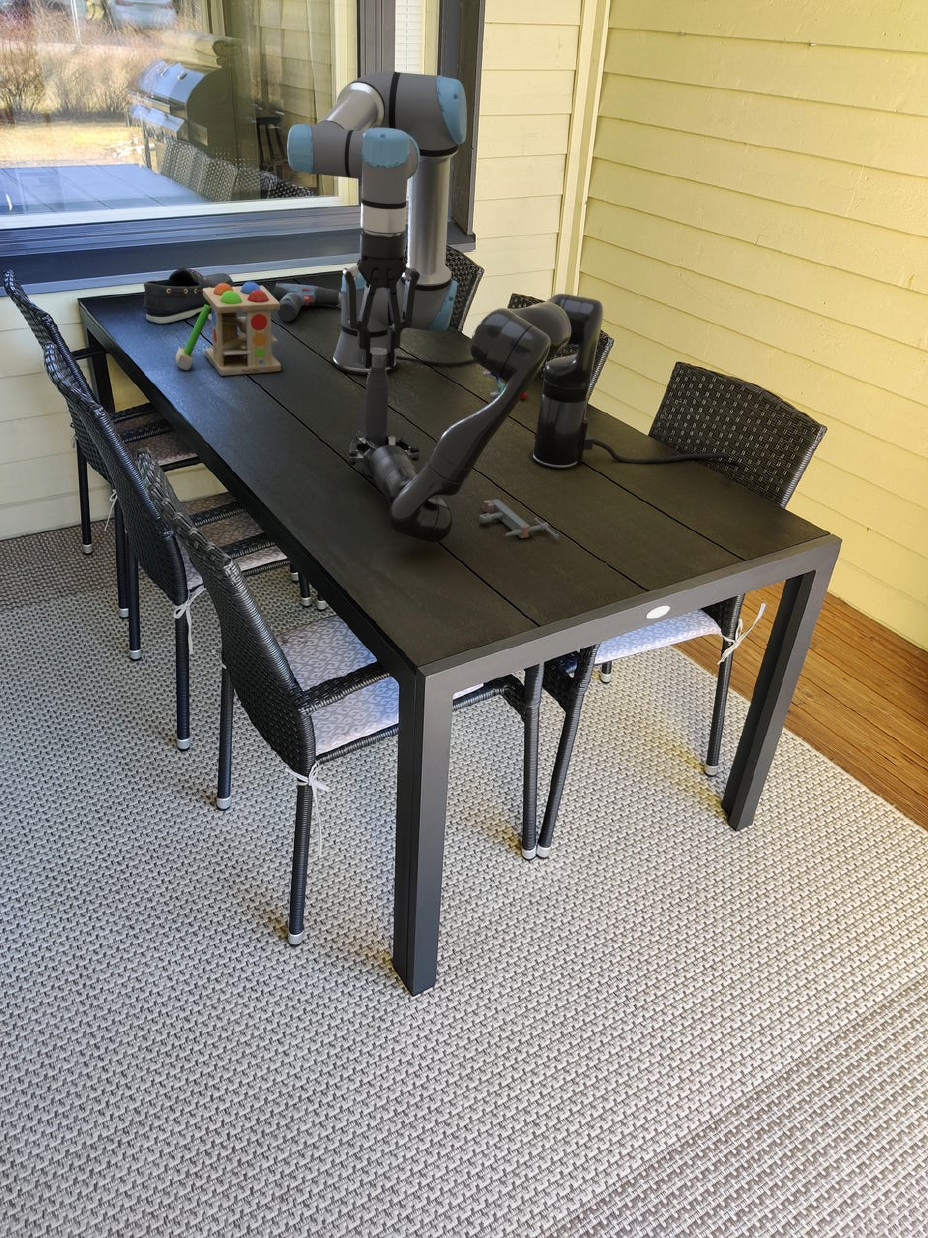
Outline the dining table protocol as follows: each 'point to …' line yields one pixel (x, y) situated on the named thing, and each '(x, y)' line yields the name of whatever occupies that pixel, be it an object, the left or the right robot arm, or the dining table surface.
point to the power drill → (302, 298)
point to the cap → (379, 358)
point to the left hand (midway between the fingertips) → (378, 365)
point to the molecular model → (500, 386)
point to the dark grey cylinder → (376, 408)
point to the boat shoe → (179, 295)
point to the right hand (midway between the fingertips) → (371, 434)
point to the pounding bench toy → (229, 347)
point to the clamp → (511, 519)
